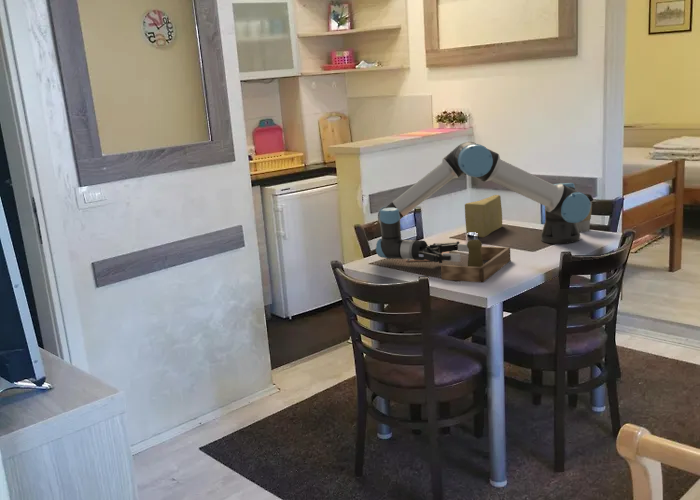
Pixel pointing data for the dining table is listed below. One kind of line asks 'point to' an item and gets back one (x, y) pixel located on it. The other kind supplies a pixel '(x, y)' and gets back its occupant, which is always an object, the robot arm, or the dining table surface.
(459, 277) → the walnut bay
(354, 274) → the dining table surface
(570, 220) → the robot arm
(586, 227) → the coffee cup
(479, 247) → the olive pepper mill
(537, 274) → the dining table surface
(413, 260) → the terracotta tile
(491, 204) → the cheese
